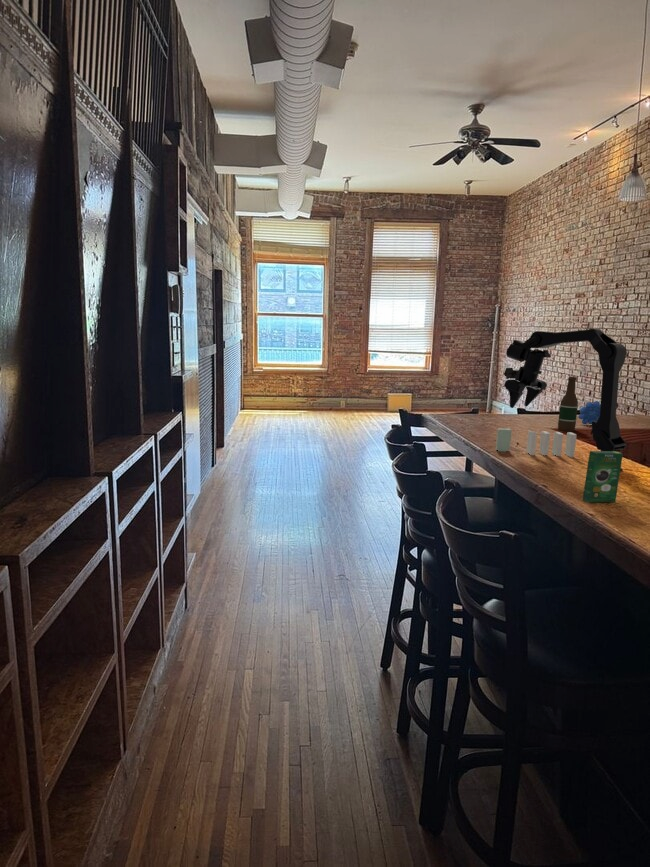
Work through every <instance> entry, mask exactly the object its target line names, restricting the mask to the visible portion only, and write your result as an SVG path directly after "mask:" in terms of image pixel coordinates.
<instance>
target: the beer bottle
mask: <svg viewBox="0 0 650 867" xmlns="http://www.w3.org/2000/svg"><path fill="white" fill-rule="evenodd" d="M567 380H568V382H567V386H566V392H565V394H564V395H563V397H562V399H561V401H560V406H559V414H558V422H557V430H559V431H565V432H574V431H575V430H576V425H577V423H576V422H577V415H578V409H579V408H578V406H579V401H578V397H577V395H576V383H577V382H576V381H577V377H576V376H568V378H567Z"/></svg>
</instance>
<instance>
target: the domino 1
mask: <svg viewBox="0 0 650 867" xmlns="http://www.w3.org/2000/svg"><path fill="white" fill-rule="evenodd" d="M512 431H513V430H512V428H497V430H496V440H495V441H496V442H495V451H496V450H498V451H497V452H506V451H511V450H510V449H511V443H512V441H511V440H512V433H513V432H512Z"/></svg>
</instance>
